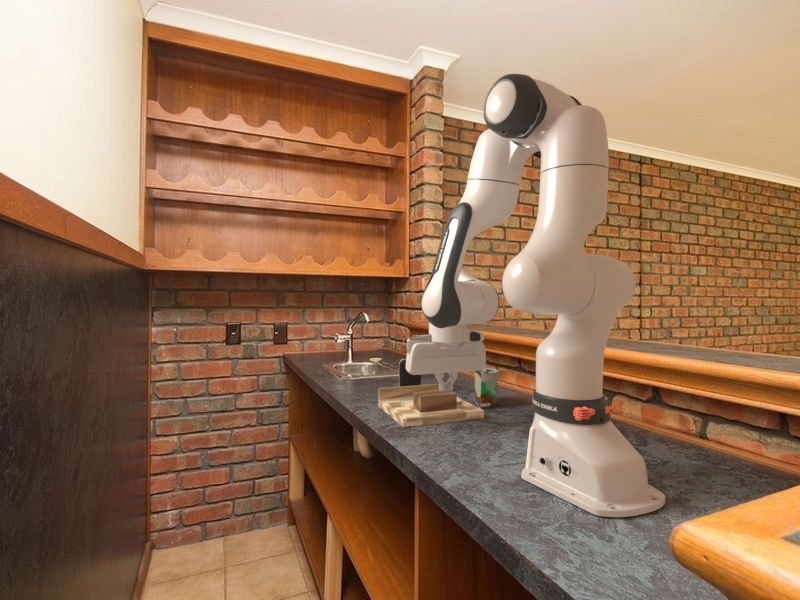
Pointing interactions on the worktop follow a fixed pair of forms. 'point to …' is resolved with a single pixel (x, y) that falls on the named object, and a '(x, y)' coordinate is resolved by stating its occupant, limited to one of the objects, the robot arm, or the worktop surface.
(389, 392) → the wooden frame
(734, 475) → the worktop surface
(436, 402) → the block
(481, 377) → the food container
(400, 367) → the battery charger
